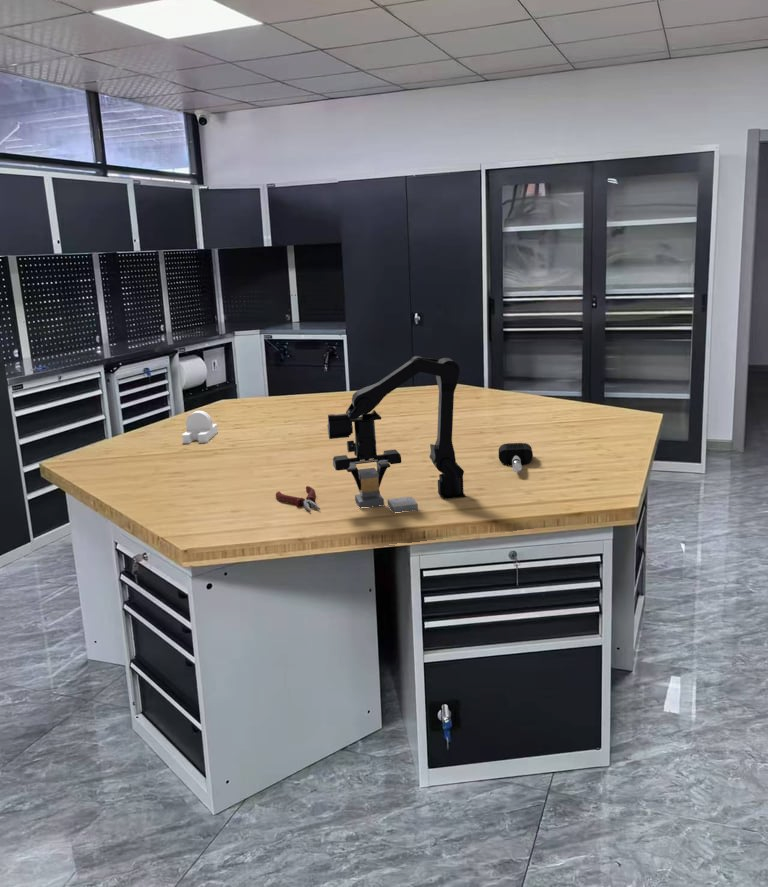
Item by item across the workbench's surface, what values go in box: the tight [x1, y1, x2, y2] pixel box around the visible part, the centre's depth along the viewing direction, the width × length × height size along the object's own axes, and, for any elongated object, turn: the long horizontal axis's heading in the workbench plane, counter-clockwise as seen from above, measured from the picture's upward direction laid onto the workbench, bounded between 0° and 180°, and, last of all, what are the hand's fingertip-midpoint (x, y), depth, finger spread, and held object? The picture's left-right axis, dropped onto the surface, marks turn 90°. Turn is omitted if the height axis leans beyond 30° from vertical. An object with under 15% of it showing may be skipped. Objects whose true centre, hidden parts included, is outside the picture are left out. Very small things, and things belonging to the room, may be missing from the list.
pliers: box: [275, 485, 321, 512], centre depth 240 cm, size 12×20×3 cm, turn 25°
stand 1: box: [354, 493, 385, 509], centre depth 235 cm, size 7×7×2 cm
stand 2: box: [387, 496, 419, 514], centre depth 230 cm, size 7×7×2 cm
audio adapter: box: [498, 442, 534, 473], centre depth 263 cm, size 11×5×25 cm
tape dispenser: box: [181, 410, 219, 444], centre depth 327 cm, size 10×18×11 cm, turn 176°
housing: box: [358, 467, 381, 497], centre depth 234 cm, size 6×5×6 cm
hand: (368, 488), depth 235 cm, fingers closed on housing, 5 cm apart
